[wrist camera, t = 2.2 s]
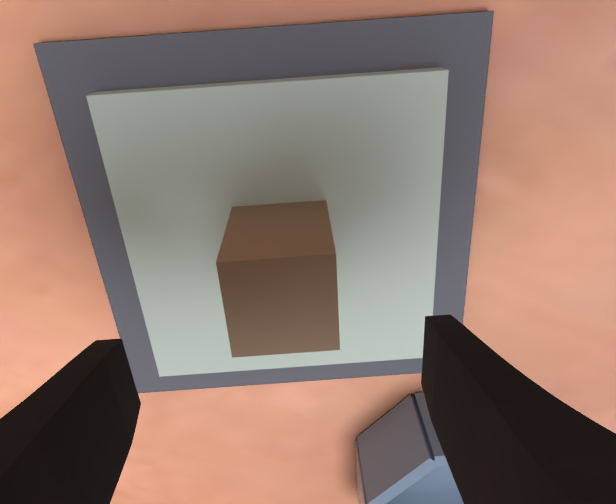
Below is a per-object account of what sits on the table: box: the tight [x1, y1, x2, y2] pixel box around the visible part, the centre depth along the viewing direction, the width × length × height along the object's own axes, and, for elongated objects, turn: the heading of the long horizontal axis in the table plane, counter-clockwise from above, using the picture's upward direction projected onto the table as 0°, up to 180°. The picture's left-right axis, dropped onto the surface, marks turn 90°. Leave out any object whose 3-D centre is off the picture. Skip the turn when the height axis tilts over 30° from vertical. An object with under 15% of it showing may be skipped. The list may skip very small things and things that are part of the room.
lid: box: [86, 67, 449, 377], centre depth 16 cm, size 11×11×5 cm
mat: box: [33, 11, 494, 393], centre depth 18 cm, size 14×14×1 cm
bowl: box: [355, 392, 464, 504], centre depth 23 cm, size 9×9×4 cm
